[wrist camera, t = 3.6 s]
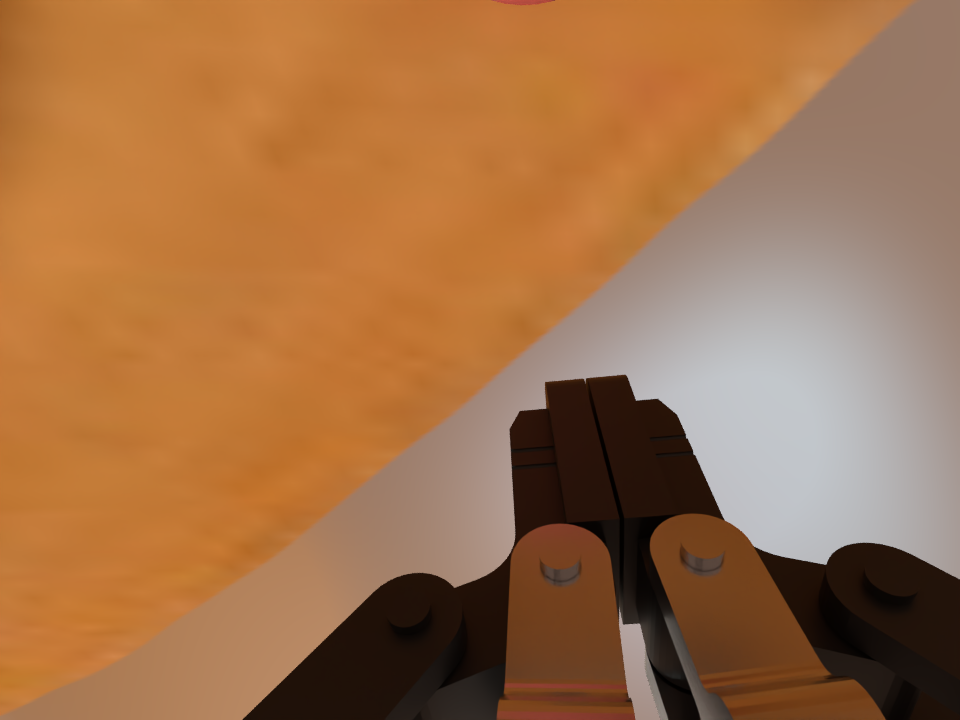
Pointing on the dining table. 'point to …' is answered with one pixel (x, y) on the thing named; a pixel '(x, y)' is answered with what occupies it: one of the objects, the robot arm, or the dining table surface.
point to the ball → (523, 1)
